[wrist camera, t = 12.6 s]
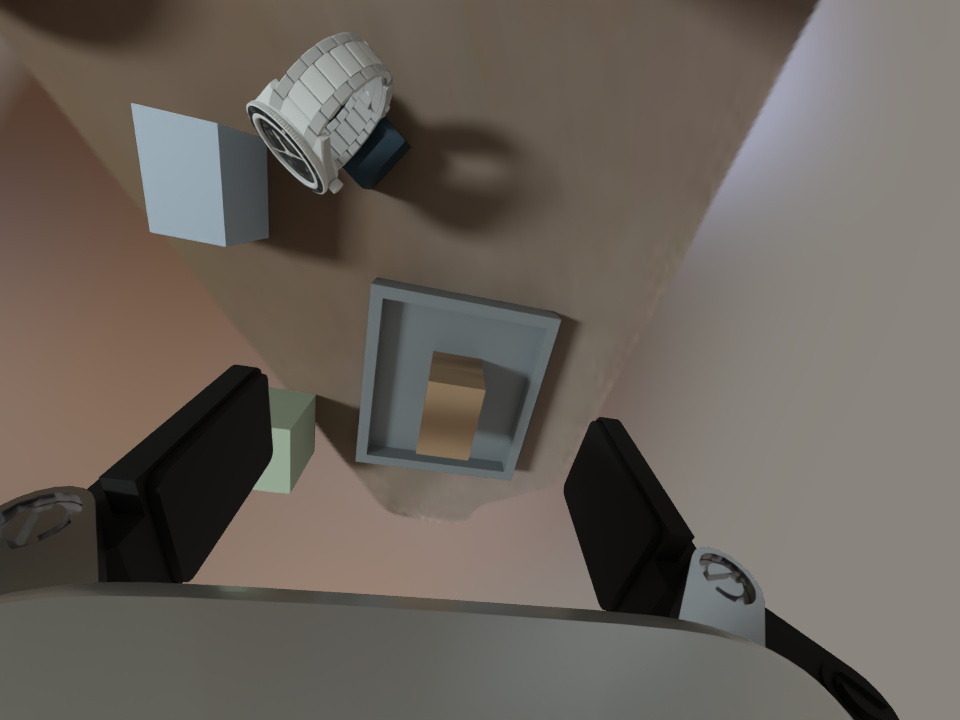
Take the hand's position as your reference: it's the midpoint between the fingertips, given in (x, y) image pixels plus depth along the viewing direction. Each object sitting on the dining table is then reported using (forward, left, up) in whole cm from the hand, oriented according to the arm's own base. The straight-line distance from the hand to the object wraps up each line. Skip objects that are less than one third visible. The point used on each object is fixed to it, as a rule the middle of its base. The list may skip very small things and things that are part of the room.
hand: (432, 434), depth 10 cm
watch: (-9, -8, -23) cm, 26 cm away
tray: (+10, +2, -23) cm, 25 cm away
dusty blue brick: (-4, -17, -23) cm, 29 cm away
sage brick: (+17, -13, -23) cm, 31 cm away
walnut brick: (+10, +2, -22) cm, 24 cm away
